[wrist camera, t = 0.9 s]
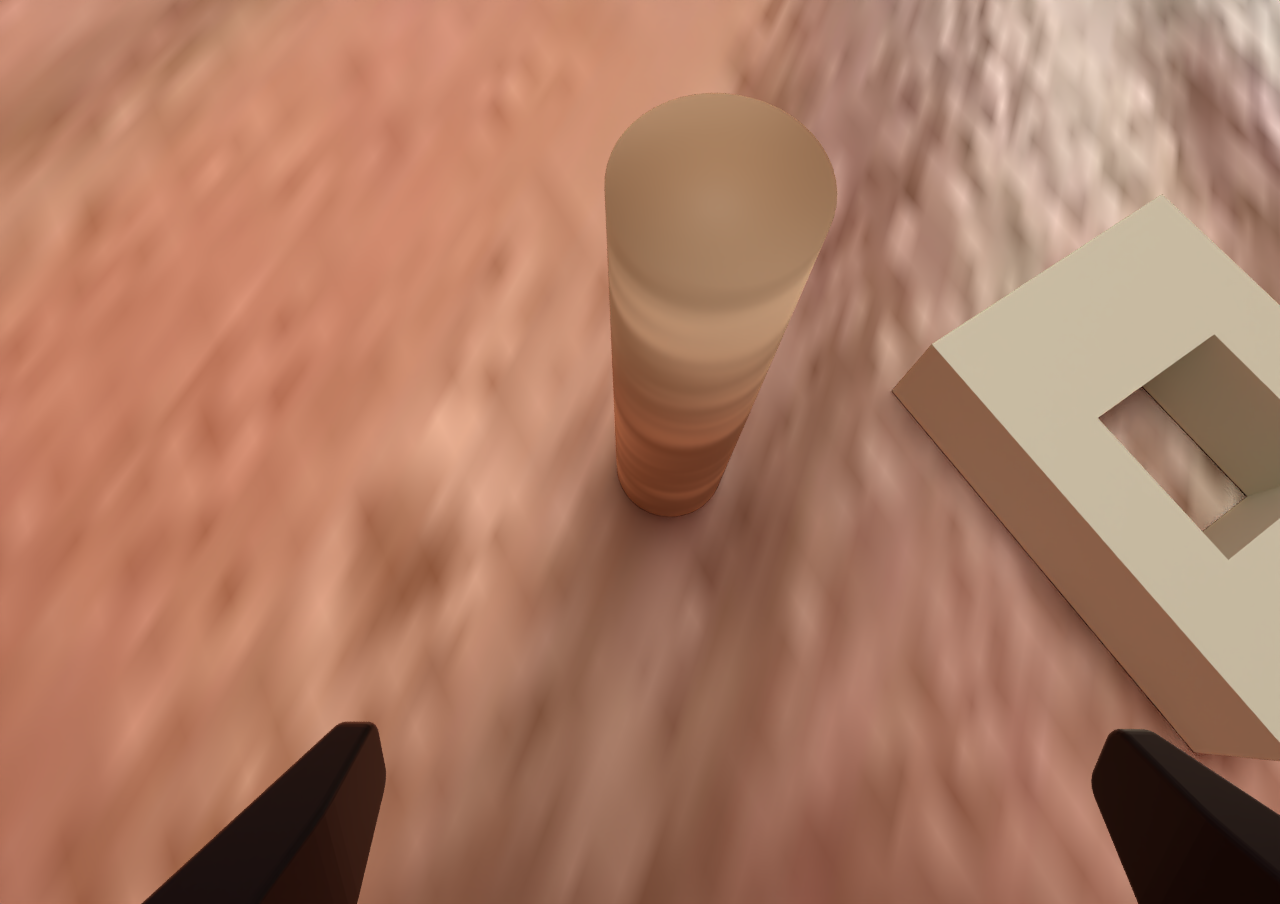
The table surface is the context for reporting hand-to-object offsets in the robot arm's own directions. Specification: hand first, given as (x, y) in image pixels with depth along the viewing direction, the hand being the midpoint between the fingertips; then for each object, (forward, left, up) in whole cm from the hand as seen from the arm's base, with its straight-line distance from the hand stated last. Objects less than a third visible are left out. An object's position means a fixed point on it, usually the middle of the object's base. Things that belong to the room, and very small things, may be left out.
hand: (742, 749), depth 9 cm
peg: (+7, -4, -13) cm, 16 cm away
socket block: (-2, -17, -13) cm, 22 cm away
